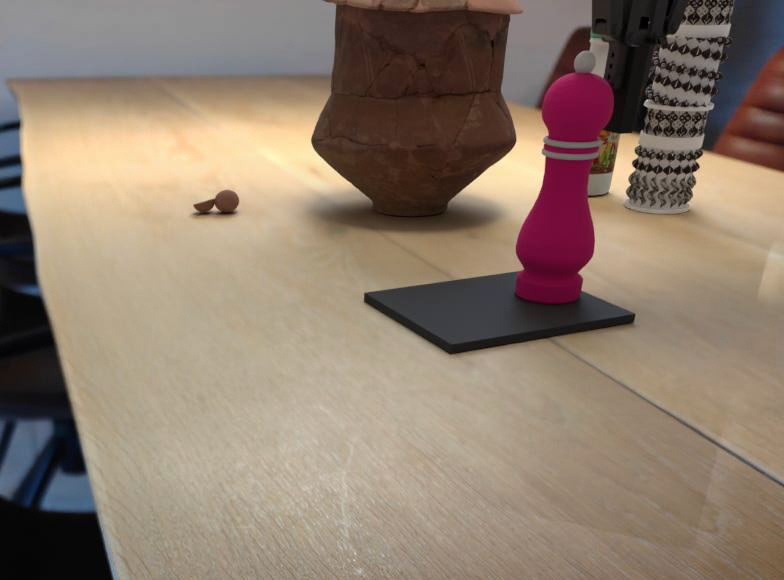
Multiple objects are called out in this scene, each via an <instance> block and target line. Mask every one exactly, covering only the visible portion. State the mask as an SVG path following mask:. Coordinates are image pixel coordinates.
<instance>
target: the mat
mask: <svg viewBox="0 0 784 580" xmlns="http://www.w3.org/2000/svg"><path fill="white" fill-rule="evenodd" d="M520 271H521V270H517V271H509V272H501V273H495V274H488V275H482V276H481V275H479V276H473V277H467V278H466V277H465V278H460V279H452V280H446V281H445V280H444V281H439V282H432V283H424V284H417V285H409V286H402V287H396V288H388V289H381V290H374V291H366V292H364V293H363V301H364V302H365V303H367V304H369V305H370V306H372V307H374V308H375V309H377V310H378V311H380V312H381V313H383V314H385V315H386V316H388V317H390V318H392V319H393V320H395V321H396V322H398V323H400V324H401V325H403V326H405V327H406V328H408V329H409V330H411V331H413V332H414V333H416V334H417V335H420V336H421V337H423V338H424V339H426V340H428V341H429V342H431V343H433V344H434V345H436V346H437V347H439V348H441V349H442V350H444V351H446V352H447V353H449V354H456V353H461V352H462V353H463V352H468V351H474V350H479V349H484V348H491V347H496V346H503V345H509V344H515V343H521V342H526V341H531V340H537V339H544V338H550V337H555V336H561V335H567V334H572V333H579V332H585V331H590V330H596V329H602V328H609V327H615V326H620V325H626V324H632V323H634V322H635V319H636V313H635V312H632V311H631V310H627V309H626V308H623V307H621V306H618V305H616V304H614V303H611V302H609V301H607V300H605V299H603V298H600V297H597V296H596V295H593V294H590V293H588V292H586V291H584V290H581V295H580V297H579V299H577V300H576V301H573V302H570V303H565V304H543V303H536V302H531V301H528V300H524V299H522V298H520V297H519V296H517V295H516V293H515V286H516V279H517V274H518V273H519V272H520Z"/></svg>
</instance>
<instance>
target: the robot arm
mask: <svg viewBox="0 0 784 580" xmlns="http://www.w3.org/2000/svg"><path fill="white" fill-rule="evenodd" d="M688 2H689V0H591V29H592V32H593V34H595V35H600V36H601V38H602V41H603V42H606V43H609V50H608V55H607V61H606V68H605V74H604V79H605V80H606V81H607V82H608V83H609V85H610V87H611V88H612V92H613V96H614V107H613V113H612V116H611V119H610V120H609V122H608V124H607V125H606V126H605V127H604V128H603V129H602V130H605V131H609V132H613V133H617V134H620V135H622V134H633V132H634V127H635V122H636V117H637V110H638V108H639V102H640V97H641V92H642V89H644V88H646V86H647V83H648V81H649V72H650V69H651V68H652V64H653V63H652V58H653V53H654V52H655V48H656V46H657V45H663V44H664V43H665V41H666V40H667V37H665V36H667V35H674V34H675V33H676V32H677V31H678V29H679V27H680V24H681V21H682V18H683V16H684V13H685V10H686V8H687V5H688Z"/></svg>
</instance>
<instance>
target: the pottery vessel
mask: <svg viewBox="0 0 784 580" xmlns="http://www.w3.org/2000/svg"><path fill="white" fill-rule="evenodd" d="M322 1H323V2H325V3H332V4H335V15H334V16H335V17H334V18H335V19H334V20H335V21H334V50H333V51H334V52H333V63H332V64H333V65H332V69H331V79H330V92H331V93H330V94H329V96H328V99H327V101H326V102H325V104H324V106H323V108H322V110H321V112H320V114H319V116H318V119H317V121H316V123H315V126H314V130H313V132H312V135H311V137H310V143H311V146H312V148H313V150H314V151H315V153H316V154H317V155H318V156H319V157H320V159H322V160H323V161H324V162H325V163H326V164H327V165H328V166H329V167H330V168H331V169H333V170H334V171H335V172H336V173H338V175H340V176H341V177H342V178H343V179H344V180H346V181H347V182H349V183H350V184H351V185H352V186H353V187H354V188H356V189H357V190H358V191H359V192H361V193H362V194H363V195H365V197H367V198H368V199H370V201H371V204H372V209H373V210H374V211H375V212H377V213H380V214H383V215H387V216H399V217H421V216H424V217H425V216H434V215H438V214H440V213H442V212H445V211H447V210H448V206H449V203H450V202H451V200H452V199H454V198H455V197H456V196H458V194H459V193H461V192H462V191H463V190H464V189H466V188H467V187H468V186H469V185H470V184H472V183H473V182H475V181H476V180H477V179H478V178H479V177H481V175H482V174H484V173H485V172H487V170H488V169H490V168H491V167H492V166H494V165H495V164H497V163H498V162H500V161H501V160H503V159H504V158H505V157H506V156H507V155H508V154H509V153H510V152H511V151H512V150H513V149H514V148H515V146H516V144H517V140H518V139H517V132H516V128H515V123H514V120H513V117H512V115H511V111H510V108H509V107H508V104H507V102H506V100H505V98H504V95H503V93H502V85H503V81H504V71H505V62H506V61H505V60H506V51H507V45H508V44H507V43H508V38H509V37H508V36H509V29H510V28H509V27H510V22H511V15H521V14H523V13H524V9H523V7H522V5H521V4H520V3H519V1H518V0H322Z"/></svg>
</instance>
